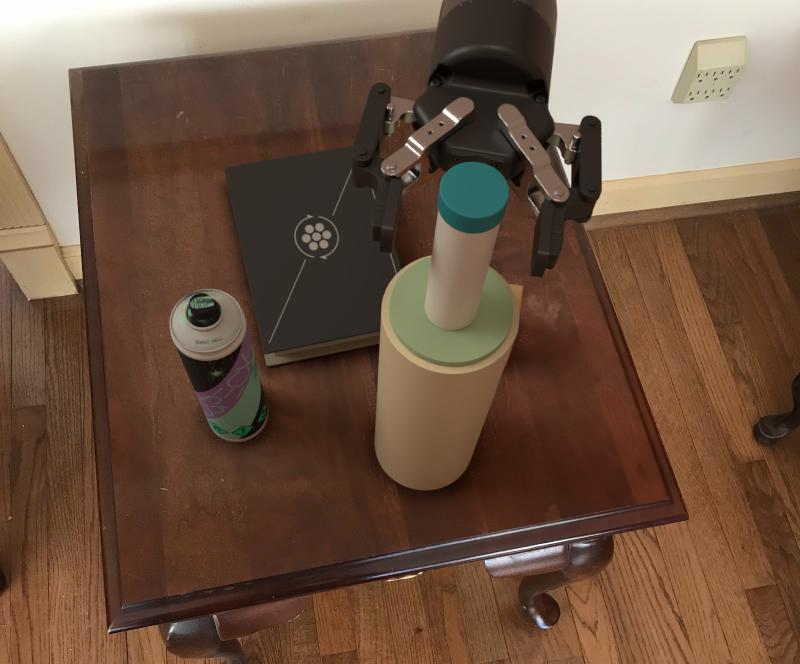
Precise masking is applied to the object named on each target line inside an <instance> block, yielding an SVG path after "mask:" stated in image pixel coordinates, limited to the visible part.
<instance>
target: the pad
mask: <svg viewBox="0 0 800 664" xmlns="http://www.w3.org/2000/svg"><path fill="white" fill-rule="evenodd" d="M430 264H431V257H430V258H426V259H424V260H421V261H419V262H417V263H415V264H414V265H412V266H411V267H410V268H408V269H407V270H406V271H405V272H404V273H403V274H402V275H401V276H400V277H399V279H398V280H397V282H396V283H395V285H394V287H393V290H392V293H391V297H390V305H389V314H390V321H391V325H392V327H393V330H394V332H395V334H396V335H397V337H398V339H399V340H400V341H401V343H402V344H403V345H404V346H405V347H406V348H407V349H408V350H409V351H411V352H412V353H413V354H414V355H416V356H418V357H419V358H421V359H423V360H426V361H428V362H431V363H434V364H437V365H443V366H465V365H470V364H473V363H476V362H479V361H481V360H483V359H485V358H487V357H488V356H490V355H492V354H493V353H494V352H495V351H496V350H497V349H498V348H499V347H500V346H501V345H502V344H503V342H504V341H505V339H506V337H507V335H508V333H509V330H510V327H511V324H512V319H513V304H512V299H511V296H510V293H509V291H508V289H507V287H506V286H505V284H504V282H503V281H502V280H501V279H500V277H499V276H498V275H497V274H496V273H495V272H494V271H492V270H491V269H490V268H488V272H487V276H486V280H485V284H484V288H483V291H482V295H481V299H480V303H479V307H478V311H477V314H476V317H475V319H474V320H473V322H472V323H471V324H469V325H468V326H467V327H465V328H462V329H459V330H445V329H442V328H440V327H438V326H436V325H435V324H433V323H432V322H431V321H430V319H429V318H428V316H427V315H426V312H425V299H426V292H427V285H428V278H429V271H430Z"/></svg>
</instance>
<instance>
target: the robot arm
mask: <svg viewBox="0 0 800 664" xmlns="http://www.w3.org/2000/svg"><path fill="white" fill-rule="evenodd" d="M557 27H558V3H557V0H442V2H441V5H440V10H439V15H438V20H437V25H436V30H435V33H434V40H433V41H434V42H433V47H432V52H431V56H430V62H429V68H428V73H427V78H426V83H425V88H424V90H423V92H422V93H421V94H420V95H419V96H418V97H417V98H416V99H415V100H413V99H408V98H403V97H398V96H393V95H392V88H391V86H390V85H389V84H387V83H385V82H376V83H374V84H373V85H372V86H371V87H370V90H369V94H368V97H367V100H366V103H365V106H364V110H363V113H362V116H361V120H360V123H359V125H358V129H357V131H356V135H355V139H354V142H353V145H352V146H353V148H352V183H353V185H354V186H356V187H358V188H367V187H369V188H371V189H373V190H374V191H375V192H376V197H375V201H374V206H373V211H372V216H371V236H372V240H373V241H377V242H380V252H386V253H392V251H393V246H394V243H395V241H396V235H397V230H398V225H399V219H400V214H401V208H402V203H403V196H405V195H406V194H407V193H408V192H409V191H411V190H412V189H414V188H415V187H416V186H418V187H423V186H424V185H426V184H427V183H428V182H429V181H431V180H432V179H433V178H435V177H436V176H437V175H438V174H440V173H441V172H444V173H446V172H447V171H448V170H449V169H451V168H452V167H454V166H456V165H458V164H461V163H465V162H480V163H484V164H487V165H490V166H492V167H493V168H495V169H496V170H498V171H499V172H500V173H501V174H502V175H503V176H504V178H505V179H506V181H507V183H508V186H509V188H511V190H512V191H513V192H514V194H515V195H516V197H517V199H518V200H519V201H520V202H521V203H526V204H527V205H528V206H529V208H530V209H531V211H532V212H533V213H534V215H535V216H536V217H537V218H536V221H535V224H534V232H533V241H532V250H531V258H530V266H529V267H530V268H529V277H535V278H539V279H542V278H543V277H544V275H545V272H546V270H553V269H554V268H555V266H556V264H558V260H559V258H560V255H561V252H562V251H563V245H564V244H563V243H564V242H563V241H564V233H565V222H567V221H574V222H575V223H578V224H585V223H588V222H589V221H590V220H591V218H592V215H593V213H594V209H595V206H596V204H597V202H598V200H599V199H600V197H601V195H602V192H603V166H602V165H603V156H602V155H603V154H602V153H603V152H602V150H603V149H602V148H603V147H602V141H603V139H602V137H603V136H602V135H603V134H602V133H603V132H602V121H601V119H600V118H599V117H598V116H596V115H593V114H592V115H591V114H589V115H585V116H583V117H582V119H581V120H580V123H579V124H573V123H565V122H556V121H555V119H554V117H553V115H552V114H551V112H550V110H549V102H550V94H551V83H552V73H553V66H554V55H555V46H556V38H557ZM405 124H411V125H412V128H413V131H414V132H413V133H412V134H411V135H409V137H408V138H407V141H406V143H405V144H404V145H403V146H401V147H400V148H399V149H398V150H396V151H395V152H393V153H392V154H390V155H389V156H388V157H387V158H385V159H384V158H382V157H381V156H380V155H381V153H382V148H383V145H384V142H385V138H386V137H387V138H391V137H392V138H393V136H394V134H395V133H397V132H398V131H399V130H400V127H401V126H402V125H405ZM551 145H552V146H555V147H556V148H557V149H558V150H559V151H560V155H561V157H562V158H563V163H564V165H567V166H570V187H567V185H566V184H565V183H564V181H563V180H562V179H561V177H560V176H559V175H558V174H557V172H556V171H555V169H554V168H553V165H552V158H551V157H550V154H549V153H548V152H547V150H548V148H550V146H551Z"/></svg>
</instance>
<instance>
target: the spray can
mask: <svg viewBox="0 0 800 664" xmlns="http://www.w3.org/2000/svg"><path fill="white" fill-rule="evenodd" d="M247 323H248V322H247V319H246V316H245V312H244V311H243V309H242V308H241V305H240V304H239V302H238V301H237V300H236V298H234V297H233V296H232V295H230V294H229V293H227V292H225V291H223V290H221V289H215V288H202V289H198V290H194V291H191V292H190V293H188V294H185V295H184V296H183V297H181V299H180V300H178V301H177V303H176V304H175V305H174V307H173V308H172V310H171V313H170V316H169V330H170V336H171V339H172V342H173V344H174V347H175V349H176V351H177V353H178V356H179V357H180V360H181V362H182V365H183V367H184V369H185V372H186V374H187V376H188V379H189V381H190V383H191V385H192V388H193V390H194V392H195V396H196V397H197V399H198V402H199V405H200V406H201V408H202V411H203V414H204V416H205V418H206V420H207V422H208V425H209V427H210V428H211V430H212V431H213V433H214V434H215V435H216V436H217V437H218V438H221V439H222V440H224V441H227V442H232V443H240V442H241V443H242V442H247V441H248V440H252V439H253V438H255V437H257V435H259V434H260V433H261V432H262V431H263V430H264V428H265V426H266V424H267V421H268V418H269V409H268V403H267V399H266V395H265V390H264V387H263V384H262V380H261V374H260V371H259V368H258V364H257V359H256V354H255V351H254V347H253V343H252V340H251V335H250V331H249V328H248V324H247Z"/></svg>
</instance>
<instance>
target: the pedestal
mask: <svg viewBox="0 0 800 664" xmlns="http://www.w3.org/2000/svg"><path fill="white" fill-rule="evenodd" d="M430 257H432V254H430V255H427V256H423V257H421V258H419V259H416V260H414V261H412V262H410V263H408V264H407V265H405V266H404V267H402V270H400V271H399V272H398V273H397V274H396V275H395V276H394V278H393V279H392V280H391V282H390V283H389V285H388V287H387V289H386V291H385V294H384V297H383V301H382V310H381V329H380V345H379V350H378V351H379V352H378V370H377V387H376V388H377V389H376V405H375V408H376V409H375V428H374V450H375V455H376V458H377V461H378V463H379V465H380V467H381V468H382V470H383V471H384V472H385V473H386V475H387V476H388V477H389V478H391V479H392V480H393V481H394V482H396V483H397V484H399V485H401V486H404V487H406V488H408V489H411V490H417V491H433V490H439V489H442V488H445V487H447V486H449V485H451V484H452V483H455V481H457V480H458V479H459V478H461V476H462V475H463V474H464V473H465V471H466V470H467V468H468V467H469V465H470V463H471V461H472V457H473V455H474V452H475V449H476V446H477V443H478V441H479V438H480V435H481V433H482V429H483V427H484V424H485V422H486V419H487V416H488V414H489V410H490V407H491V405H492V403H493V400H494V397H495V394H496V391H497V389H498V387H499V383H500V381H501V378H502V376H503V372H504V370H505V367H506V365H507V364H506V361H507V359H508V356H509V353H510V351H511V348H512V345H513V342H514V340H515V337H516V334H517V330H518V331H519V329H518V325H519V326H520V320H519V309H518V304H517V301H516V298H515V295H514V293H513V291H512V289H511V288H510V286H509V285H508V284H509V283H508V282H507V281H506V279H505V278H504V277H503V276H502V274H500V273H499V272H498V271H497V270H495V269H494V268H492V267H491V266H490V265H489V268H490V269H491V270H492V271H494V272H495V273H496V274H497V275H498V276H499V277H500V279H501V280H502V281H503V282H504V284H505V286H506V287H507V289H508V291H509V293H510V296H511V299H512V304H513V319H512V324H511V327H510V330H509V333H508V335H507V337H506V339H505V341H504V342H503V344H502V345H501V346H500V347H499V348H498V349H497V350H496V351H495V352H494V353H493V354H492V355H490V356H488V357H487V358H485V359H483V360H481V361H479V362H476V363H473V364H470V365H465V366H443V365H437V364H434V363H431V362H428V361H426V360H423V359H421V358H419V357H418V356H416V355H414V354H413V353H412V352H411V351H409V350H408V349H407V348H406V347H405V346H404V345H403V344H402V343H401V341H400V340H399V339H398V337H397V335H396V334H395V332H394V330H393V327H392V325H391V321H390V314H389V305H390V297H391V293H392V290H393V287H394V285H395V283H396V282H397V280H398V279H399V277H400V276H401V275H402V274H403V273H404V272H405V271H406V270H407V269H408V268H410V267H411V266H412V265H414V264H415V263H417V262H419V261H421V260H424V259H426V258H430ZM517 335H518V334H517ZM516 338H517V337H516ZM515 341H516V340H515ZM513 346H514V345H513ZM512 349H513V348H512ZM511 352H512V351H511ZM510 354H511V353H510ZM509 357H510V356H509ZM508 360H509V359H508ZM505 364H506V365H505Z"/></svg>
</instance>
